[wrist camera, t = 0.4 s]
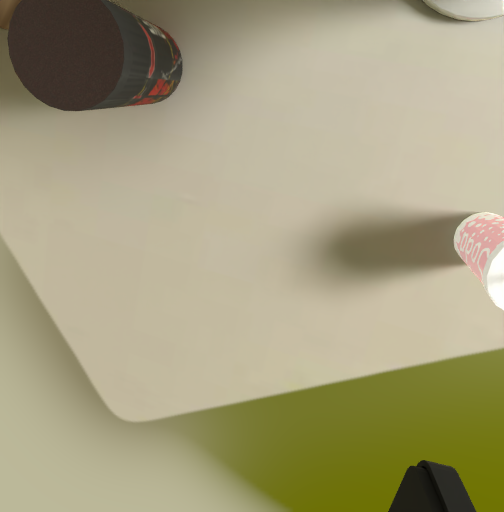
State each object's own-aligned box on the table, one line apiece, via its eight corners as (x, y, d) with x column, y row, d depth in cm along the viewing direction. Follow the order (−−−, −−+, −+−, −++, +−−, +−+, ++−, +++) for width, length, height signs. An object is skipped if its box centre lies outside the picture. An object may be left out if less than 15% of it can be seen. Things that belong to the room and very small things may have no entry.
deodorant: (99, 84, 39) (-6, 81, 25) (123, 9, 37) (25, -41, 23) (166, 116, 39) (102, 130, 25) (193, 44, 37) (141, 15, 23)
